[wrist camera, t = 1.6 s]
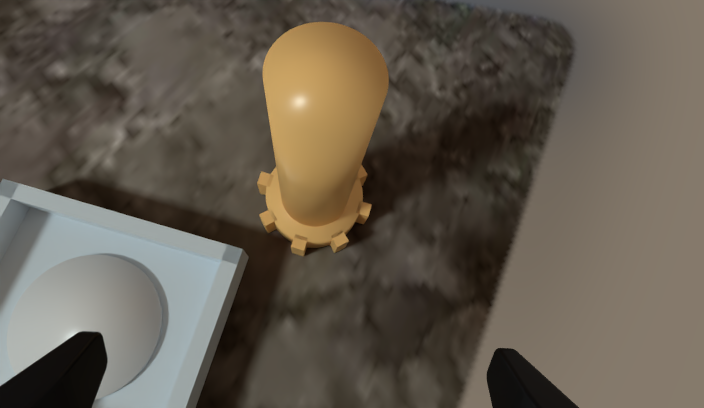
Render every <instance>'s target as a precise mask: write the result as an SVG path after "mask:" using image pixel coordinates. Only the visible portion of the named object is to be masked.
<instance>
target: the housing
mask: <svg viewBox="0 0 704 408" xmlns="http://www.w3.org/2000/svg"><path fill="white" fill-rule="evenodd" d="M248 258H249V257H248V255H247V254H246V253H245V251H244V250H243V249H241V248H237V247H234V246H231V245H227V244H224V243H220V242H217V241H214V240H210V239H207V238H203V237H200V236H197V235H193V234H190V233H186V232H183V231H179V230H176V229H173V228H169V227H166V226H162V225H159V224H156V223H152V222H149V221H145V220H142V219H139V218H135V217H132V216H128V215H125V214H121V213H118V212H115V211H111V210H108V209H104V208H101V207H98V206H94V205H91V204H87V203H84V202H80V201H77V200H74V199H70V198H67V197H63V196H60V195H57V194H53V193H50V192H46V191H43V190H40V189H36V188H33V187H29V186H26V185H22V184H19V183H16V182H12V181H9V180H5V179H3V180H2V182H1V183H0V386H1V385H2V384H4V383H5V382H7V381H8V380H10V379H11V378H12V377H14V376H15V375H17V374H18V373H20V372H21V371H23V370H24V369H25V368H27V367H28V366H30V365H31V364H33V363H34V362H36V361H37V360H39V359H40V358H41V357H43V356H44V355H46V354H47V353H49V352H50V351H52V350H53V349H55V348H56V347H57V346H59V345H60V344H62V343H63V342H65V341H66V340H68V339H69V338H71V337H72V336H73V335H75V334H76V333H78V332H81V331H95V332H100V333H101V334H102V336H103V339H104V344H105V348H106V352H107V357H108V363H107V368H106V371H105V374H104V376H103V379H102V382H101V384H100V387H99V390H98V392H97V395H96V398H95V401H94V403H93V406H92V408H196V405H197V403H198V400H199V397H200V394H201V391H202V388H203V386H204V383H205V380H206V377H207V374H208V371H209V369H210V366H211V363H212V360H213V357H214V354H215V352H216V349H217V346H218V343H219V340H220V338H221V335H222V332H223V329H224V326H225V323H226V321H227V318H228V315H229V312H230V309H231V306H232V304H233V301H234V298H235V295H236V292H237V289H238V287H239V284H240V281H241V278H242V275H243V273H244V270H245V267H246V264H247V261H248Z"/></svg>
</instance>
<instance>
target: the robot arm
mask: <svg viewBox="0 0 704 408" xmlns="http://www.w3.org/2000/svg"><path fill="white" fill-rule="evenodd" d="M107 363H108V357H107V352H106V348H105V344H104V339H103V336H102V334H101V333H100V332H95V331H81V332H78V333H76V334H75V335H73V336H72V337H71V338H69V339H68V340H66V341H65V342H63V343H62V344H60V345H59V346H57V347H56V348H55V349H53V350H52V351H50V352H49V353H47V354H46V355H44V356H43V357H41V358H40V359H39V360H37V361H36V362H34V363H33V364H31V365H30V366H28V367H27V368H25V369H24V370H23V371H21V372H20V373H18V374H17V375H15V376H14V377H12V378H11V379H10V380H8V381H7V382H5V383H4V384H2V385H1V386H0V408H92V406H93V403H94V401H95V398H96V395H97V392H98V390H99V387H100V384H101V382H102V379H103V376H104V374H105V371H106V368H107ZM487 383H488V388H489V393H490V397H491V401H492V406H493V408H579V407H578V406H576V405H575V404H574V403H573V402H572V401H571V400H570V399H569V398H568V397H567V396H566V395H564V394H563V393H562V392H561V391H560V390H559V389H558V388H557V387H556V386H555V385H553V384H552V383H551V382H550V381H549V380H548V379H547V378H546V377H545V376H544V375H542V374H541V373H540V372H539V371H538V370H537V369H536V368H535V367H534V366H532V365H531V364H530V363H529V362H528V361H527V360H526V359H525V358H523V356H522V355H520V354H519V353H518V352H517V351H516V350H514V349H508V348H507V349H506V348H498V349H496V351H495V352H494V355H493V357H492V360H491V363H490V365H489V368H488V371H487Z"/></svg>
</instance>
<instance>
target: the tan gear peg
mask: <svg viewBox="0 0 704 408" xmlns="http://www.w3.org/2000/svg"><path fill="white" fill-rule="evenodd" d="M388 82H389V78H388V70H387V66H386V63H385V61H384V58H383V56H382V55H381V53H380V51H379V50H378V49H377V47H376V46H375V45H374V44H373V43H372V42H371V41H370V40H369V39H368V38H367V37H365V36H364V35H363V34H361V33H360V32H358V31H356V30H354V29H352V28H350V27H347V26H344V25H341V24H337V23H330V22H314V23H308V24H304V25H300V26H297V27H295V28H293V29H291V30H289V31H288V32H286V33H284V34H283V35H282V36H281V37H279V38H278V39H277V40H276V41H275V43H274V44H273V45H272V46H271V48H270V49H269V51H268V53H267V55H266V58H265V61H264V66H263V83H264V89H265V96H266V102H267V108H268V115H269V121H270V128H271V134H272V141H273V147H274V154H275V160H276V167H275V169H274V170H273V172H272V173H271V174H268V173H265V172H261V174H260V177H259V180H258V182H257V184H258V188H259V191H260V194H263V195H266V203H267V207H268V210H267V211H265V212H263V213H261V214H259V215H260V218H261V221H262V223H263V225H264V227H265V229H266V231H267V233H270V232H272V231H274V230H276V229H277V231H278V232H279V233H280V234H281V235H282V236H283V237H284V238H286V239H287V240H288V241H290V242H292V245H291V251H292V253H294V254H297V255H301V256H304V254H305V251H306V248H320V247H325V246H329V245H330V246H331V248H332V249H333V251H334V253H336V252H338V251H340V250H341V249H343V248H345V247H346V245H347V243H348V242H349V240H348V239H347V237H346V234H347V233H348V232H349V231H350V230H351V228H352V227H353V225H354V223H355V222H357V223H361V224H364V223H365V222H366V220H367V218H368V217H369V213H370V209H371V206H372V204H368V203H365V202H363V190H362V186H363V184H364V182H365V180H366V177H367V173H366V171H365V169H364V168H363V166H362V161H363V158H364V155H365V152H366V150H367V147H368V144H369V141H370V139H371V136H372V133H373V130H374V128H375V125H376V122H377V119H378V116H379V114H380V111H381V108H382V105H383V103H384V100H385V97H386V94H387V90H388Z"/></svg>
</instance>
